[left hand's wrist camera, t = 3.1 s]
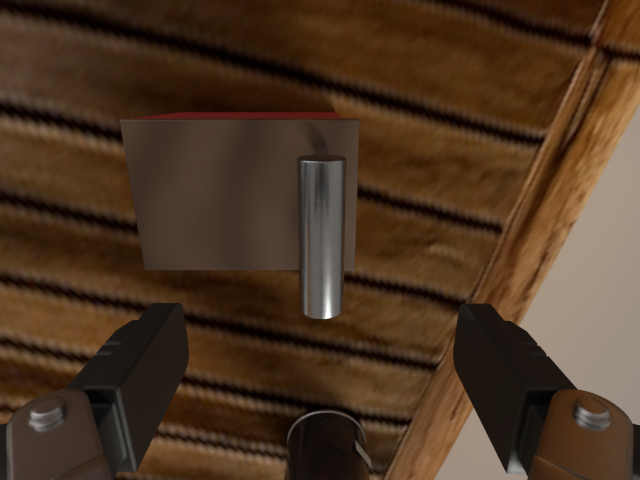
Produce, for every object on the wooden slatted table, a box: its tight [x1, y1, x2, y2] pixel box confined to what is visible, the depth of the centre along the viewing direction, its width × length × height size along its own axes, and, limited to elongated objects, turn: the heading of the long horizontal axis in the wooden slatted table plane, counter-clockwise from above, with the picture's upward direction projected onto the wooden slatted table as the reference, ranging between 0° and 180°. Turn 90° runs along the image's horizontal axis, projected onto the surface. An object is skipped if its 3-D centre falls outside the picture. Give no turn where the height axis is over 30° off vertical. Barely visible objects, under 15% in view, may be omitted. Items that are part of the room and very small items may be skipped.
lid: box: [120, 119, 359, 319], centre depth 22 cm, size 15×10×10 cm
